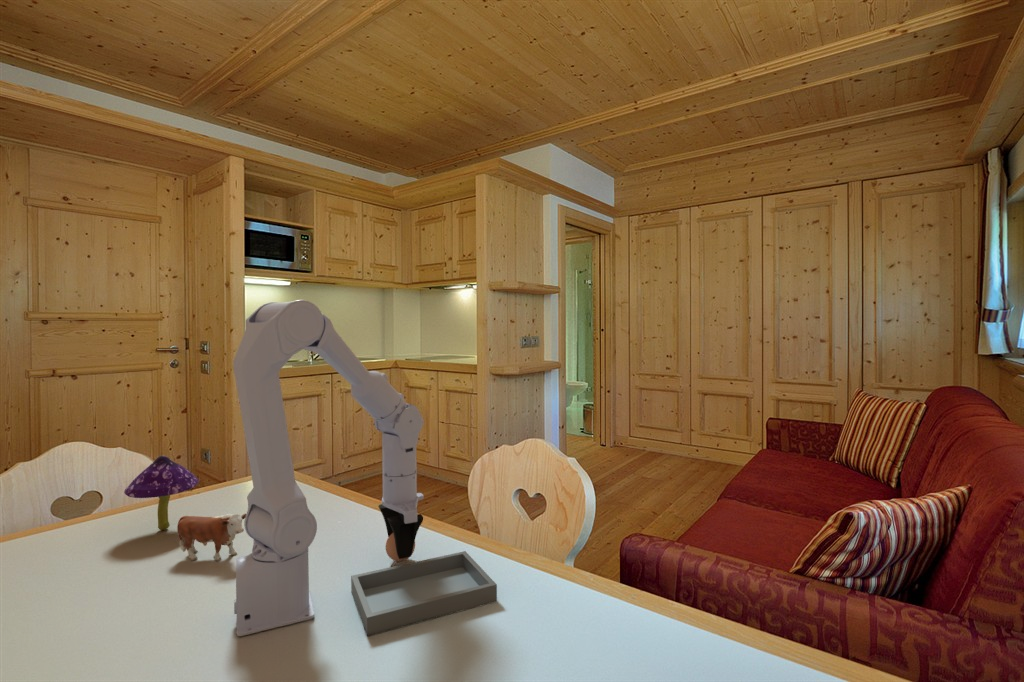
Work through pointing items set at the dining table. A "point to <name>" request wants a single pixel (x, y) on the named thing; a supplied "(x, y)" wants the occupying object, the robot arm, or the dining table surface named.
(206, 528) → the bull figurine
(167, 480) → the decorative mushroom
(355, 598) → the walled pen
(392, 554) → the ball
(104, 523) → the dining table surface
